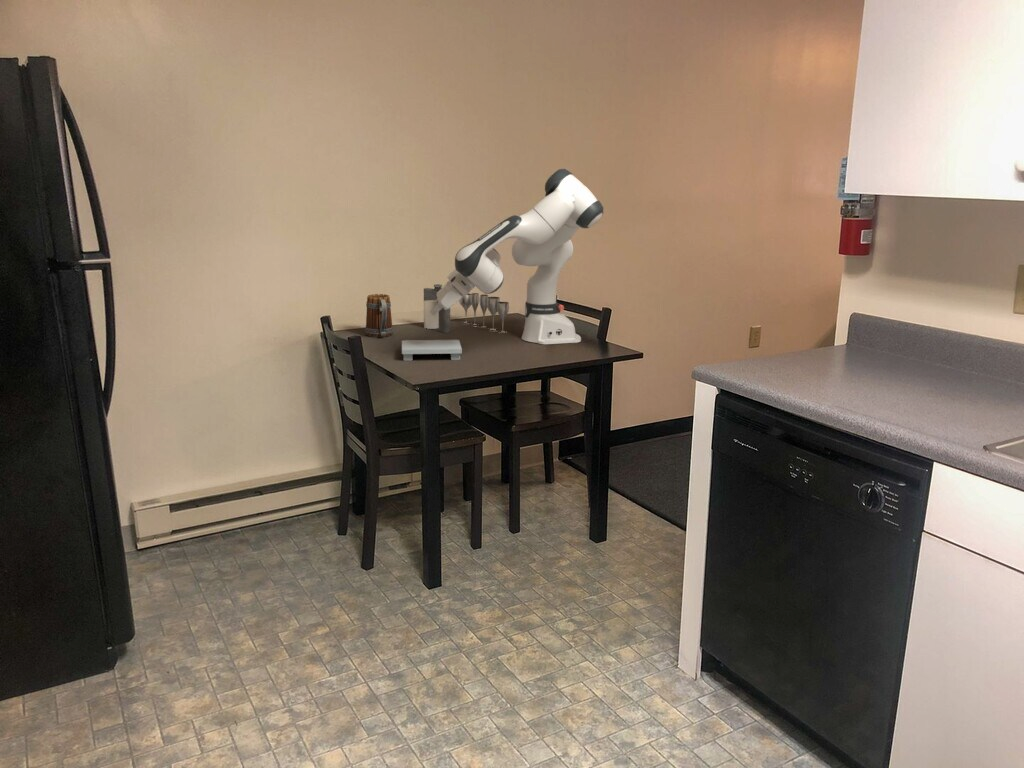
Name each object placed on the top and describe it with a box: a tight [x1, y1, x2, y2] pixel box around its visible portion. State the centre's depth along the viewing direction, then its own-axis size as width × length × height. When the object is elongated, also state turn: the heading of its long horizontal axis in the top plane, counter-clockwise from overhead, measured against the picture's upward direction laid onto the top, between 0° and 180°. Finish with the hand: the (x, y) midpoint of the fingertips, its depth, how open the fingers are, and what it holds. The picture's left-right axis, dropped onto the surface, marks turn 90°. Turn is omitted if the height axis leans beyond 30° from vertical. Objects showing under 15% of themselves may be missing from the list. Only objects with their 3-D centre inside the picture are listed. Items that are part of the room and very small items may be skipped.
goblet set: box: [458, 292, 510, 332], centre depth 323 cm, size 28×6×13 cm, turn 42°
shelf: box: [401, 339, 463, 362], centre depth 277 cm, size 20×14×4 cm
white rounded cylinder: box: [423, 300, 439, 330], centre depth 274 cm, size 5×5×9 cm
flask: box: [423, 283, 451, 334], centre depth 316 cm, size 4×14×18 cm, turn 46°
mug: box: [364, 293, 394, 338], centre depth 304 cm, size 16×11×15 cm
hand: (431, 311), depth 273 cm, fingers closed on white rounded cylinder, 5 cm apart
